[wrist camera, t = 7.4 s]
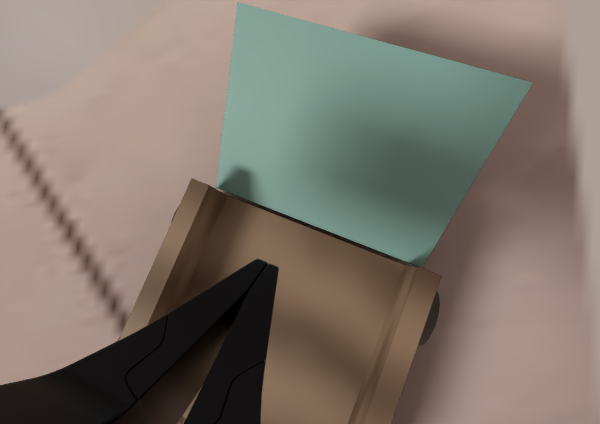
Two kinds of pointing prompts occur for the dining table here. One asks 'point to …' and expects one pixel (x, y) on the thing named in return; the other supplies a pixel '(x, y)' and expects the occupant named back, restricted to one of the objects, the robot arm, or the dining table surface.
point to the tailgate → (356, 131)
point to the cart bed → (301, 307)
